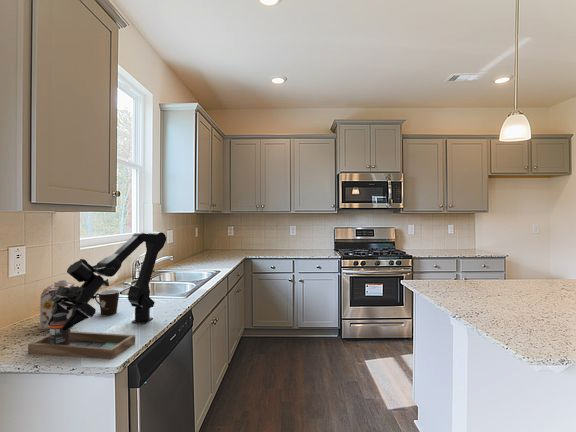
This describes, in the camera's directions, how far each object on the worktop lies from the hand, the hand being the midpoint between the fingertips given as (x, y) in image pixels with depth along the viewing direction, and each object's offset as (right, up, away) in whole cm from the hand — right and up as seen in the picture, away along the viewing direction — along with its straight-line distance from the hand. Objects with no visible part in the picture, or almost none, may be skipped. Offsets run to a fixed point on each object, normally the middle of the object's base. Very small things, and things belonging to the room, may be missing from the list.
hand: (55, 327), depth 115 cm
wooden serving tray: (+10, -7, 0) cm, 12 cm away
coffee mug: (-4, -7, +40) cm, 41 cm away
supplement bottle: (+1, -7, +1) cm, 7 cm away
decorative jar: (-15, -7, +24) cm, 29 cm away
